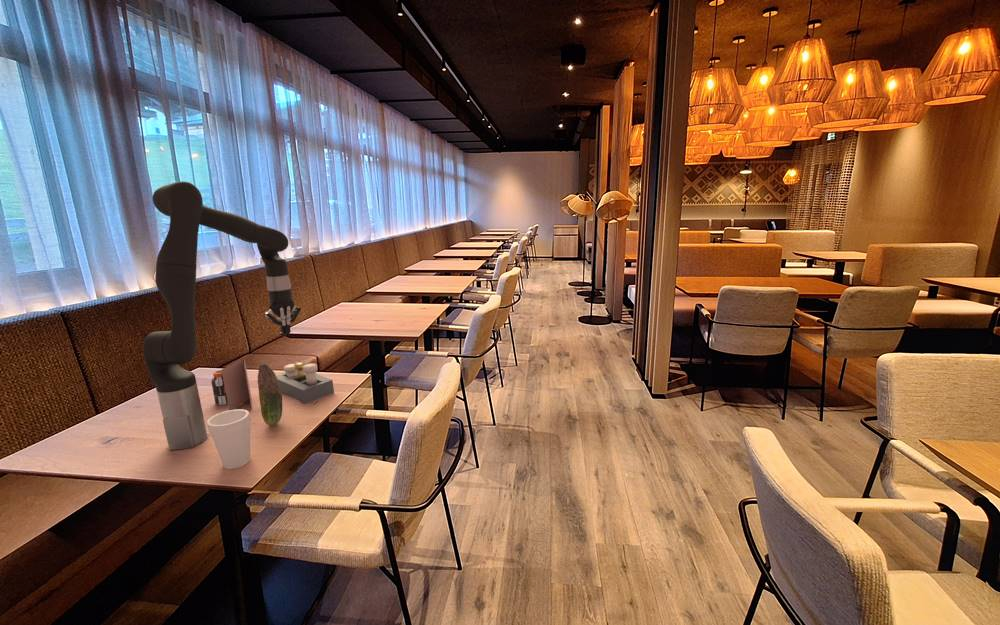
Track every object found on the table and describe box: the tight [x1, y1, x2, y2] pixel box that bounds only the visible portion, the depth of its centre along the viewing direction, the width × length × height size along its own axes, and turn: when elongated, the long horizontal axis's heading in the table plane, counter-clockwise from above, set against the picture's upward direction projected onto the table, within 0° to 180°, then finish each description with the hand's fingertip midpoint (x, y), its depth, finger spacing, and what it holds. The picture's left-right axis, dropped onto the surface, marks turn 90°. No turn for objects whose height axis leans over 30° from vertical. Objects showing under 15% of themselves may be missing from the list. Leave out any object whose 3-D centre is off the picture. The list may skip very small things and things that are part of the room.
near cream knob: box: [303, 363, 318, 386], centre depth 157 cm, size 5×5×7 cm
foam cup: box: [206, 408, 252, 470], centre depth 117 cm, size 10×9×13 cm
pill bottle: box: [210, 369, 228, 406], centre depth 155 cm, size 6×6×11 cm
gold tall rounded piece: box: [293, 361, 306, 382], centre depth 162 cm, size 4×4×7 cm
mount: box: [276, 372, 335, 405], centre depth 163 cm, size 22×11×5 cm, turn 52°
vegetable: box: [257, 363, 283, 427], centre depth 136 cm, size 6×6×20 cm
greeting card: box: [221, 357, 253, 411], centre depth 152 cm, size 11×7×15 cm, turn 175°
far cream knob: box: [283, 363, 297, 378], centre depth 166 cm, size 5×5×7 cm
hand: (286, 334), depth 163 cm, fingers closed
